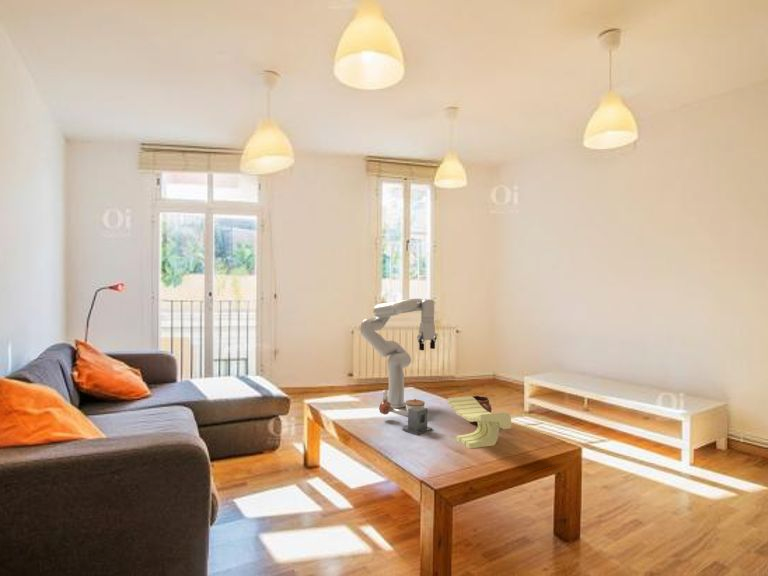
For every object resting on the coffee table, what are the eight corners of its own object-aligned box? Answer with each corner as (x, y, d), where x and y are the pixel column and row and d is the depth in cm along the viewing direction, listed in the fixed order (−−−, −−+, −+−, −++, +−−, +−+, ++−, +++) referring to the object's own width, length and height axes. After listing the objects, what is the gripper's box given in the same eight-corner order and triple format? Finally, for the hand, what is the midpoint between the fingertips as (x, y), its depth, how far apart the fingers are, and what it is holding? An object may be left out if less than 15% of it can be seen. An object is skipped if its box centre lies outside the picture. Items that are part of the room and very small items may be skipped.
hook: (378, 414, 245) (379, 391, 245) (388, 412, 250) (388, 389, 250) (405, 423, 231) (405, 398, 231) (414, 420, 236) (414, 395, 236)
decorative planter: (499, 428, 234) (500, 401, 234) (479, 430, 230) (479, 403, 230) (479, 417, 253) (479, 392, 253) (460, 419, 249) (460, 394, 249)
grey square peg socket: (402, 430, 229) (402, 408, 229) (418, 425, 237) (418, 404, 237) (417, 435, 222) (417, 413, 222) (432, 430, 230) (433, 408, 230)
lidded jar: (421, 419, 248) (422, 402, 248) (403, 417, 252) (403, 400, 252) (426, 414, 258) (426, 397, 258) (408, 412, 262) (408, 396, 262)
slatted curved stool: (510, 450, 203) (511, 411, 203) (480, 455, 197) (480, 414, 197) (474, 430, 231) (475, 395, 231) (447, 433, 226) (447, 398, 225)
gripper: (432, 319, 273) (431, 347, 273) (412, 320, 261) (412, 350, 261) (441, 320, 268) (441, 348, 268) (422, 321, 256) (422, 351, 256)
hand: (427, 349), depth 264 cm, fingers open, 9 cm apart
